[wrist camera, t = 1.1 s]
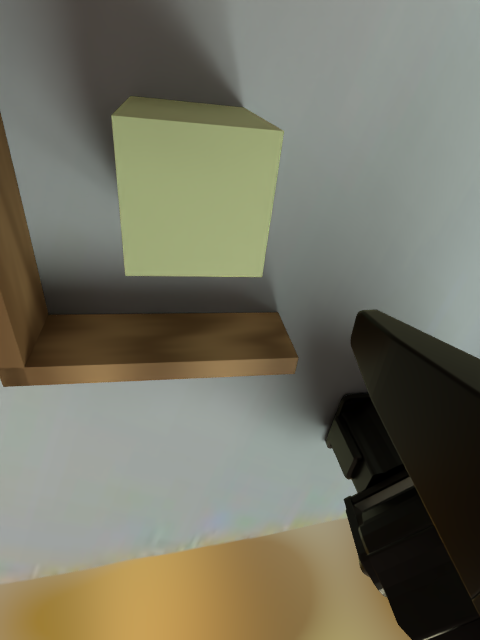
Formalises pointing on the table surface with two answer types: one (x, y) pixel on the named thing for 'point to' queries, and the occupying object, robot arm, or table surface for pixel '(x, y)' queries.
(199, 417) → the table surface
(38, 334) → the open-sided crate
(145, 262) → the sage block
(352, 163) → the table surface
